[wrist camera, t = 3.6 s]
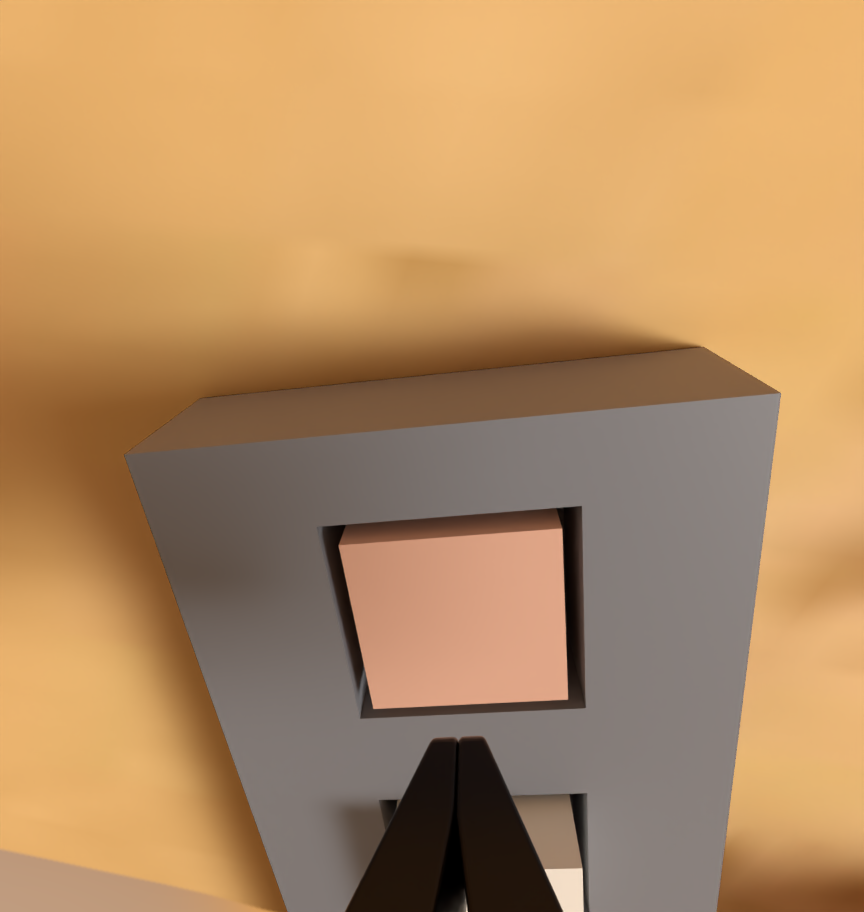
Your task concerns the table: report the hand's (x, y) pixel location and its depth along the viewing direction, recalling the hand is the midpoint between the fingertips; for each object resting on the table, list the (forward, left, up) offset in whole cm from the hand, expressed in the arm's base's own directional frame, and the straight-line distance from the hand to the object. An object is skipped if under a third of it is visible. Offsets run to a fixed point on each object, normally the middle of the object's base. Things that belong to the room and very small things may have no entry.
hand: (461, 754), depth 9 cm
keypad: (0, -8, -7) cm, 11 cm away
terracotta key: (0, 0, -6) cm, 6 cm away
